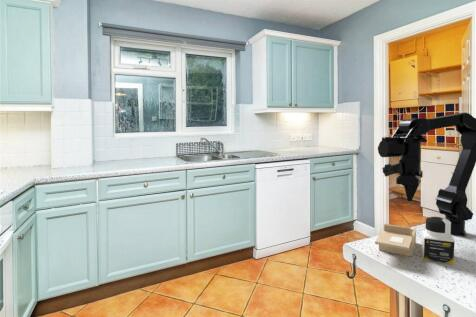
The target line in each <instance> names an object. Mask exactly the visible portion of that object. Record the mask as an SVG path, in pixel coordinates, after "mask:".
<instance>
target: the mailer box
mask: <svg viewBox="0 0 476 317" xmlns="http://www.w3.org/2000/svg"><path fill="white" fill-rule="evenodd" d="M411 234H413V238H412V242H411V245H410V248H409V250H406V249H400V248H395V247H389V246H384V245H378V251H382V252H386V253H391V254H396V255H401V256H407V257H413V254H414V251H415V247H416V245H417V244H416V242H417V229H415V228H411Z"/></svg>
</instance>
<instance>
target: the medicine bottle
mask: <svg viewBox="0 0 476 317" xmlns="http://www.w3.org/2000/svg"><path fill="white" fill-rule="evenodd" d="M455 241H456V240H455V239H454V237H453V235H451V222H450V221H449V220H447V219H445V217H440V216H429V217H427V218H426V219H425V228H424V229H422V230H421V254H422V258H423V260H425V261H430V262H431V261H432V262H439V263H444V264H452V265H453V264H455Z"/></svg>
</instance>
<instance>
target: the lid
mask: <svg viewBox="0 0 476 317" xmlns="http://www.w3.org/2000/svg"><path fill="white" fill-rule="evenodd" d="M411 229H412V228H411V227H410V226H402V225H398V224H397V225H396V224H395V225H394V224H388V223H385V224H383V229H381V232H379V234H378V236H377V238H376V239H375V241H374V244H375V245H378V246H379V245H384V246H389V247H395V248H400V249H406V250H409V248H410V245H411V242H412V238H413V234H411Z"/></svg>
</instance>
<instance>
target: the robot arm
mask: <svg viewBox="0 0 476 317" xmlns="http://www.w3.org/2000/svg"><path fill="white" fill-rule="evenodd" d="M449 127H455V130H456V132H457V133H459V134H460V144H461V147H462V149H461V152H460V154H459V157H458V159H457V161H456V165H455V167H454V170H453V172H452V176H451V178H450V180H449V183H448V186H447V187H445V188H444V189H443V188H439V190H438V191H437V192H438V193H437V195H436V197H435V200H436V201H435V205H436V207H437V208H438V212H439V214H441V215H444V218H445V219H447V220H449V221H450V222H451V235H452V236H460V237H467V232H466V221H470V220H472V219H473V216H474V213H473V212H472V210H471V209H470V208H469V207H468V206H467V205H468V198H467V197H468V196H467V194H466V193H467V192H466V191H467V187H468V184H469V182H470V180H471V177H472V174H473V171H474V168H475V166H476V117H474V116H473V115H471V114H470V113H468V112H456V113H453V114H448V115H442V116H436V117H430V118H417V117H416V118H404V119H402V120H400V122H399V124H398V127H397V128H396V129H395V131H394V132H393V134H392V136H382V137H381V141H380V142H379V144H378V146H377V152H378V155H379V156H380V157H381V158H396V157H397V158H398V157H400V159H398V162H397V163H396V162H395V163H393V164H391V163H387V164H384V166H383V167H382V168H381V169H382V173H383V174H384V176H385V178H386V177H389V176H391V175H395V174H398V176H397V177H396V179H395V180H396V185H402V186H403V188H404V191H405V195H406V200H407V202H412V201H413V198H414V197H415V194H416V193H417V190H418V188H419V186H420V184H421V181H422V180H421V178H422V179H423V176H424V175H423V173H424V172H423V170H421V162H422V158H421V155H422V153H421V152H422V150H421V149H422V143H428V140H427V139H426V137H424V136H423V135H424V134H428V133H429V132H430V131H433V130H438V129H443V128H444V129H445V128H449Z"/></svg>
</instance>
